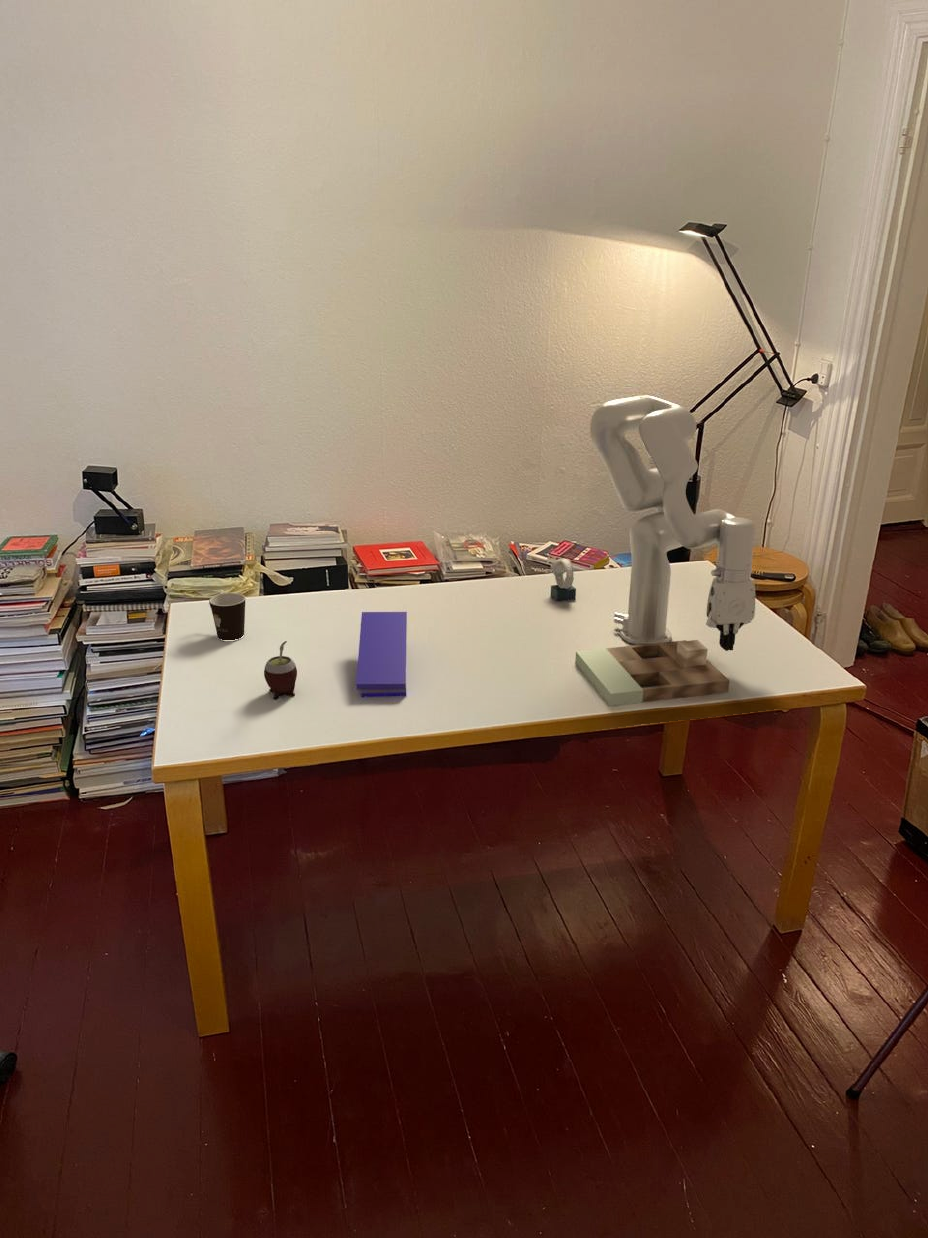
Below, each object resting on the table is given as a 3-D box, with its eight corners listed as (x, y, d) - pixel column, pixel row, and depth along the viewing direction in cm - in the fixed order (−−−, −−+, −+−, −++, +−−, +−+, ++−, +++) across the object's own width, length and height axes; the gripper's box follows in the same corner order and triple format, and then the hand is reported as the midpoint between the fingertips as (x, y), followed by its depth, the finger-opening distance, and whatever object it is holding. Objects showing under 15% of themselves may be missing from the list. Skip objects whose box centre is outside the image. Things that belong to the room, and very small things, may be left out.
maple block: (685, 666, 227) (687, 650, 225) (676, 657, 231) (677, 641, 230) (705, 664, 228) (707, 648, 226) (695, 655, 232) (697, 639, 231)
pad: (609, 706, 216) (610, 693, 214) (575, 662, 235) (575, 651, 234) (642, 702, 217) (643, 690, 216) (605, 659, 237) (605, 648, 236)
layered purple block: (407, 645, 245) (406, 608, 241) (409, 698, 219) (408, 658, 215) (360, 646, 244) (358, 609, 240) (356, 700, 218) (355, 659, 214)
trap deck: (642, 702, 217) (643, 690, 216) (605, 659, 237) (605, 648, 236) (728, 692, 222) (729, 680, 221) (684, 651, 242) (685, 640, 240)
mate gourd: (276, 684, 224) (272, 622, 218) (307, 690, 222) (303, 628, 216) (258, 698, 218) (253, 635, 212) (290, 705, 215) (285, 641, 209)
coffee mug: (251, 640, 246) (248, 603, 242) (216, 645, 243) (212, 607, 239) (243, 623, 256) (239, 586, 252) (208, 627, 253) (205, 591, 249)
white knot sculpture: (565, 591, 277) (567, 554, 273) (578, 601, 270) (580, 563, 266) (547, 593, 276) (548, 556, 271) (559, 604, 269) (561, 565, 264)
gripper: (710, 581, 218) (704, 658, 225) (772, 575, 221) (764, 651, 228) (695, 570, 225) (689, 645, 232) (755, 564, 228) (747, 638, 235)
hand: (726, 648), depth 230 cm, fingers closed
